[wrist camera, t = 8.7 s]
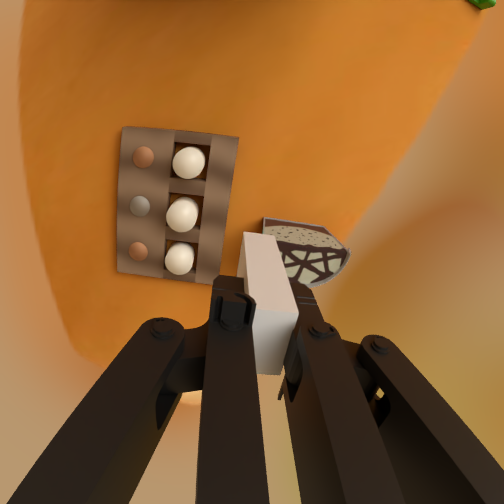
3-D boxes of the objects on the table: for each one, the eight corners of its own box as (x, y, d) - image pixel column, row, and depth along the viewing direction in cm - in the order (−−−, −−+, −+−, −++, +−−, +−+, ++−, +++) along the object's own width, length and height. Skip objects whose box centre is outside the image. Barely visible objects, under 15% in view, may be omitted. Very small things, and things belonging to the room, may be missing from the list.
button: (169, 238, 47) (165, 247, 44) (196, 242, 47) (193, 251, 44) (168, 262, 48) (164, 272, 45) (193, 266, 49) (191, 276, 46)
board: (127, 126, 40) (122, 127, 38) (238, 137, 42) (238, 138, 40) (121, 266, 49) (117, 272, 47) (218, 279, 51) (217, 286, 49)
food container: (247, 253, 49) (250, 286, 40) (253, 215, 47) (258, 241, 38) (323, 263, 50) (341, 296, 41) (333, 227, 48) (354, 254, 39)
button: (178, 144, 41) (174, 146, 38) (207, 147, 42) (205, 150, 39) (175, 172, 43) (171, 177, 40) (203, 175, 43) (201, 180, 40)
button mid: (172, 195, 43) (167, 201, 40) (200, 198, 44) (197, 205, 40) (169, 222, 45) (165, 230, 42) (197, 225, 45) (194, 234, 42)
